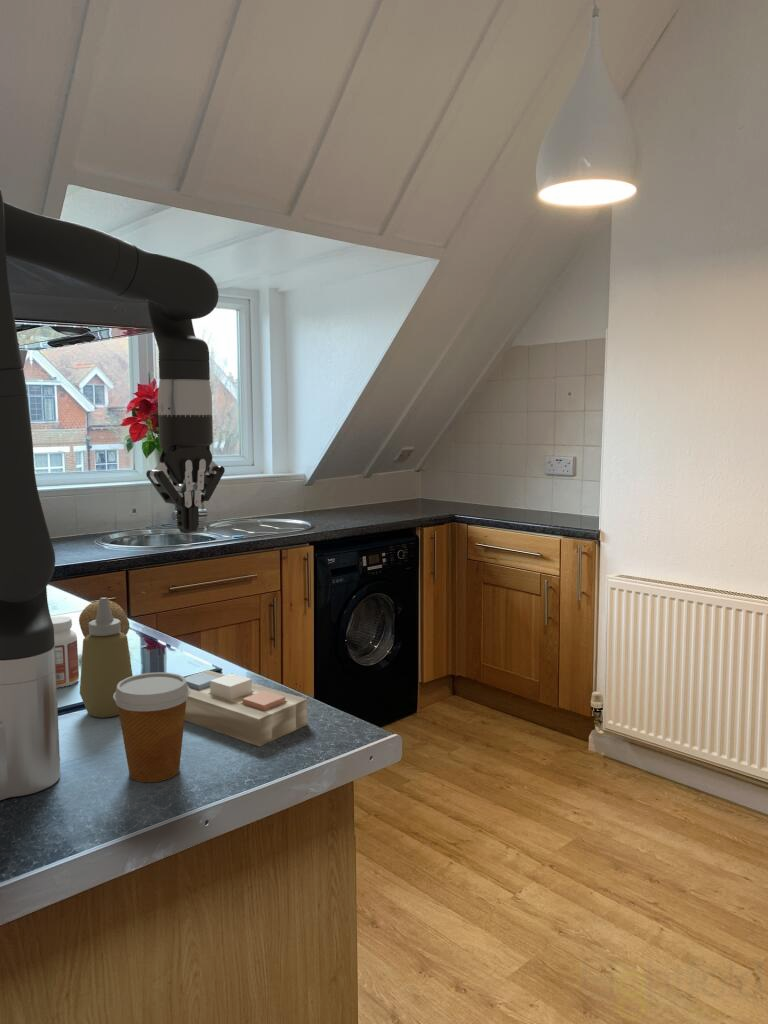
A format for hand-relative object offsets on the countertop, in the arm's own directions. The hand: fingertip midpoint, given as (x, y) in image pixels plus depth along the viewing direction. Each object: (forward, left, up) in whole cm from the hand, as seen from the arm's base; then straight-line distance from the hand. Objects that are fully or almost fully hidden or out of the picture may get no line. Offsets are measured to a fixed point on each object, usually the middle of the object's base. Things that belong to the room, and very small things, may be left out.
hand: (188, 532), depth 120 cm
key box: (+5, -3, -29) cm, 30 cm away
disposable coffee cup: (-14, -9, -29) cm, 34 cm away
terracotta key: (+5, -10, -28) cm, 30 cm away
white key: (+5, -3, -26) cm, 27 cm away
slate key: (+5, +4, -28) cm, 28 cm away
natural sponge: (+14, +42, -29) cm, 53 cm away
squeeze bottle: (-5, +14, -29) cm, 33 cm away
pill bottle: (-2, +32, -29) cm, 43 cm away
